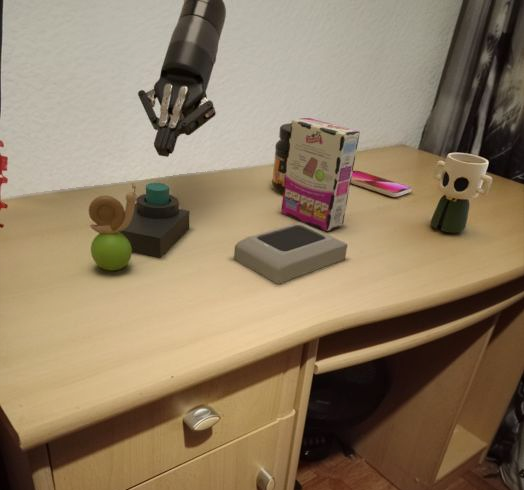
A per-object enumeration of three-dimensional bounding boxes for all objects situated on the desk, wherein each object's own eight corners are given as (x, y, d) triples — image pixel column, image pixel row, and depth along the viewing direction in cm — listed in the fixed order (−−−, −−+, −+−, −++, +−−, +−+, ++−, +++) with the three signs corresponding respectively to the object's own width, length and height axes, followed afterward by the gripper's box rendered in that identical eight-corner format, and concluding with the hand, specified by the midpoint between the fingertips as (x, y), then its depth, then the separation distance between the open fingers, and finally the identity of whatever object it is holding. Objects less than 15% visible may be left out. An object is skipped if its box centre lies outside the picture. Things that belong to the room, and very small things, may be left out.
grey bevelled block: (348, 237, 84) (280, 260, 75) (344, 259, 86) (277, 284, 77) (304, 216, 89) (235, 236, 80) (301, 237, 91) (233, 259, 82)
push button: (151, 196, 88) (151, 181, 86) (172, 200, 87) (172, 185, 86) (142, 203, 85) (141, 187, 83) (163, 207, 84) (163, 191, 83)
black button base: (141, 218, 92) (139, 188, 89) (191, 227, 91) (191, 198, 88) (104, 246, 82) (102, 214, 79) (160, 257, 80) (160, 226, 77)
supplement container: (260, 186, 111) (266, 124, 105) (297, 179, 117) (304, 120, 111) (295, 202, 105) (303, 138, 98) (332, 194, 111) (342, 133, 104)
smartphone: (356, 169, 124) (413, 187, 116) (355, 174, 125) (412, 192, 117) (337, 175, 119) (395, 194, 111) (336, 179, 120) (394, 198, 112)
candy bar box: (344, 226, 97) (362, 131, 88) (327, 232, 94) (344, 134, 85) (296, 207, 103) (308, 115, 94) (279, 212, 100) (290, 118, 91)
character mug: (411, 222, 102) (429, 152, 95) (432, 215, 106) (451, 147, 99) (462, 243, 96) (486, 169, 88) (482, 235, 100) (506, 164, 93)
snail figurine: (141, 275, 75) (138, 190, 68) (93, 278, 73) (85, 191, 66) (137, 258, 79) (134, 176, 72) (91, 260, 78) (83, 176, 71)
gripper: (145, 33, 84) (113, 132, 81) (226, 44, 82) (196, 146, 79) (159, 67, 91) (130, 159, 88) (234, 78, 89) (207, 173, 86)
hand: (162, 153), depth 84 cm, fingers closed
